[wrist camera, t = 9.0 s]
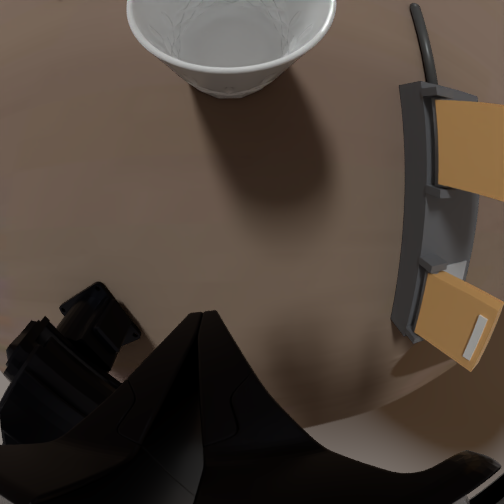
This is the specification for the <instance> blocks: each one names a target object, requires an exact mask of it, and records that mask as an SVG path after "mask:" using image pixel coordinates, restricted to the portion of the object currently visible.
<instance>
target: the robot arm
mask: <svg viewBox="0 0 504 504" xmlns="http://www.w3.org/2000/svg"><path fill="white" fill-rule="evenodd" d="M97 286H98V287H99V288H100V289H98V287H97ZM59 309H60V311H61V313H62V314H63V315H64V316H65V317H64V318H63V319H62V321H61V322H60V323H59V325H58V326H57V328H55V327H54V326H53V325H52V324H51V323H50V322H49V321H50V320H49V319H48V318H47V317H46V316H45V317H44V318H43V319H42V320H41V321H39V320H38V321H37V322H35V321H32V320H31V321H30V323H29V324H28V325H27V326H26V328H25V329H24V330H23V331H22V332H21V334H20V335H19V336H18V337H17V338H16V339H15V340H14V341H13V342H12V343H11V344H10V345H9V347H8V348H7V350H6V352H7V358H8V361H7V363H6V366H7V368H6V370H5V372H4V375H5V376H6V377H7V378H8V379H9V380H10V381H11V383H10V385H9V386H8V388H7V390H6V391H5V393H4V395H3V397H2V399H1V401H0V423H1V432H2V438H3V444H2V445H0V504H504V473H503V474H502V475H501V476H499V477H498V478H497V479H496V480H495V481H493V482H492V483H491V484H490V485H488V486H487V487H486V488H484V489H483V490H482V491H481V492H479V493H478V494H476V495H475V496H474V497H472V498H471V499H468V497H467V494H468V493H470V492H471V491H473V490H474V489H476V488H477V487H478V486H480V485H481V484H482V483H484V482H485V481H486V480H487V479H489V478H490V477H491V476H492V475H493V474H495V473H496V472H497V471H498V470H499V469H500V468H501V465H500V464H499V463H498V462H497V461H496V460H494V459H492V458H490V457H488V456H486V455H483V454H479V453H475V452H472V451H468V450H466V451H462V452H460V453H458V454H456V455H454V456H452V457H450V458H448V459H447V460H445V461H443V462H441V463H439V464H438V465H436V466H434V467H432V468H430V469H427V470H425V471H421V472H415V473H397V472H391V471H388V470H384V469H381V468H378V467H375V466H371V465H368V464H365V463H362V462H359V461H356V460H354V459H351V458H348V457H345V456H342V455H340V454H337V453H335V452H333V451H330V450H328V449H327V448H325V447H324V446H322V445H321V444H319V443H318V442H317V441H316V440H314V439H313V438H312V437H311V436H310V435H309V434H308V433H307V432H306V431H305V430H304V429H303V428H301V427H300V426H299V425H298V424H297V423H296V422H295V421H294V420H293V419H292V418H291V417H290V416H289V415H288V414H287V413H286V412H285V411H284V410H283V409H282V408H281V407H280V405H279V404H278V403H277V402H276V401H275V400H274V399H273V397H272V396H271V395H270V394H269V393H268V391H267V390H266V389H265V387H264V386H263V384H262V383H261V382H260V380H259V379H258V377H257V376H256V374H255V373H254V371H253V370H252V368H251V366H250V365H249V363H248V362H247V360H246V358H245V357H244V355H243V354H242V352H241V350H240V349H239V347H238V346H237V344H236V342H235V341H234V339H233V337H232V336H231V334H230V332H229V331H228V329H227V327H226V326H225V324H224V322H223V321H222V319H221V317H220V315H219V314H218V312H217V311H216V310H213V311H205V312H204V313H203V312H195V313H190V314H188V316H187V317H186V318H185V319H184V320H183V321H182V322H181V323H180V324H179V325H178V326H177V327H176V328H175V329H174V330H173V331H172V332H171V333H170V334H169V335H168V336H167V337H166V338H165V339H164V341H163V342H162V343H161V344H160V345H159V346H158V347H157V348H156V349H155V350H154V351H153V352H152V353H151V354H150V355H149V356H148V357H147V358H146V359H145V360H144V361H143V362H142V363H141V364H140V366H139V367H138V368H137V369H136V370H135V371H134V372H133V373H132V374H131V375H130V376H129V377H128V380H125V381H124V382H123V383H120V382H119V381H118V380H116V379H115V378H114V377H112V376H111V375H110V374H108V373H109V371H110V370H111V368H112V366H113V363H114V361H115V358H116V356H117V354H118V352H119V351H120V348H121V346H123V345H125V344H128V343H130V342H132V341H135V340H137V339H139V338H140V336H141V332H140V330H139V329H138V328H137V327H136V326H135V324H134V323H133V322H132V321H131V319H130V318H129V317H128V316H127V315H126V313H125V312H124V311H123V310H122V308H121V307H120V306H119V305H118V303H117V302H116V301H115V299H114V298H113V297H112V296H111V294H110V293H109V292H108V290H107V289H106V288H105V286H104V285H103V284H102V283H101V282H95V283H94V284H92V285H91V286H89V287H87V288H86V289H84V290H83V291H81V292H80V293H78V294H76V295H75V296H73V297H72V298H70V299H69V300H67V301H66V302H64V303H63V304H62V305H61V306H60V307H59ZM134 333H136V334H137V335H136V334H134Z"/></svg>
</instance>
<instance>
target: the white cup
mask: <svg viewBox="0 0 504 504" xmlns="http://www.w3.org/2000/svg"><path fill="white" fill-rule="evenodd" d="M335 12H336V0H127V18H128V23H129V26H130V28H131V30H132V32H133V34H134V36H135V37H136V39H137V40H138V41H139V42H140V44H141V45H142V46H143V47H144V48H145V49H147V50H148V51H149V52H150V53H152V54H153V55H154V56H155V57H157V58H158V59H159V60H160V61H162V62H163V63H164V64H165V65H166V66H168V67H169V68H170V69H171V70H172V71H173V72H175V73H176V74H177V75H178V76H179V77H181V78H182V79H183V80H185V81H186V82H187V83H189V84H190V85H192V86H194V87H195V88H196V89H197V90H198V91H201V92H203V93H206V94H209V95H211V96H214V97H216V98H243V97H245V96H247V95H250V94H252V93H254V92H257V91H259V90H262V89H263V87H264V86H266V85H268V84H269V83H271V82H272V81H273V80H275V79H276V78H277V77H279V76H280V75H281V74H282V73H284V72H285V71H286V70H287V69H288V68H289V67H290V66H291V65H292V64H294V63H295V62H296V61H297V60H298V59H299V58H301V57H302V56H303V55H304V54H305V53H307V52H308V51H309V50H310V49H312V48H313V47H314V46H315V45H316V44H318V43H319V42H320V40H321V39H322V38H323V37H324V36H325V35H326V33H327V32H328V30H329V28H330V27H331V24H332V22H333V20H334V16H335Z"/></svg>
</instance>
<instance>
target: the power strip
mask: <svg viewBox="0 0 504 504" xmlns="http://www.w3.org/2000/svg"><path fill="white" fill-rule="evenodd" d="M410 9H411V12H412V16H413V19H414V23H415V26H416V30H417V34H418V38H419V42H420V47H421V52H422V56H423V62H424V67H425V73H426V79H427V82H422V81H418V82H413V83H408V84H403V85H399V89H400V97H401V106H402V117H403V129H404V148H405V203H404V222H403V235H402V246H401V256H400V264H399V272H398V279H397V286H396V292H395V298H394V304H393V309H392V314H391V320H392V321H393V323H394V324H395V325H396V327H397V328H398V329H399V331H400V332H401V333H402V335H403V336H408V337H409V339H410V340H411V341H412V343H413V344H414V343H417V342H420V341H423V340H425V339H423V338H422V337H421V336H419V335H418V334H415V333H414V332H413V326H414V322H415V318H416V314H417V310H418V306H419V302H420V297H421V293H422V288H423V283H424V277H425V272H426V270H427V271H428V272H430V273H434V272H438V271H442V270H443V271H445V272H447V273H449V274H451V275H453V276H455V277H457V278H459V279H461V280H463V281H465V280H466V276H467V271H468V267H469V262H470V257H471V252H472V247H473V241H474V235H475V229H476V222H477V214H478V204H479V194H476V193H472V192H468V191H464V190H461V189H457V188H452V187H449V188H443V187H438V186H435V137H434V121H433V109H432V100H431V98H433V97H438V98H445V99H447V100H455V101H470V102H478V98H477V96H474V95H471V94H468V93H465V92H462V91H458V90H455V89H451V88H447V87H444V86H440V85H438V82H437V76H436V70H435V64H434V59H433V54H432V49H431V45H430V41H429V37H428V33H427V29H426V25H425V22H424V18H423V15H422V12H421V9H420V6H419V5H418V4H416V3H411V4H410Z"/></svg>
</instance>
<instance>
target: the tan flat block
mask: <svg viewBox="0 0 504 504" xmlns="http://www.w3.org/2000/svg"><path fill="white" fill-rule="evenodd" d="M431 100H432V109H433V121H434V137H435V186H438V187H443V188H449V187H452V188H457V189H461V190H464V191H468V192H472V193H476V194H479V195H483V196H486V197H490V198H493V199H496V200H500V201H503V202H504V105H499V104H491V103H482V102H470V101H455V100H447V99H445V98H438V97H433V98H431Z"/></svg>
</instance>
